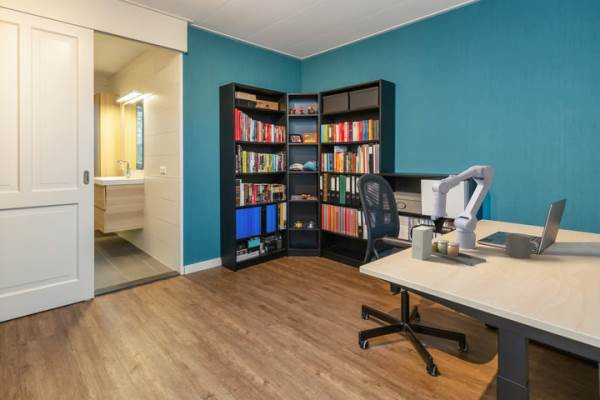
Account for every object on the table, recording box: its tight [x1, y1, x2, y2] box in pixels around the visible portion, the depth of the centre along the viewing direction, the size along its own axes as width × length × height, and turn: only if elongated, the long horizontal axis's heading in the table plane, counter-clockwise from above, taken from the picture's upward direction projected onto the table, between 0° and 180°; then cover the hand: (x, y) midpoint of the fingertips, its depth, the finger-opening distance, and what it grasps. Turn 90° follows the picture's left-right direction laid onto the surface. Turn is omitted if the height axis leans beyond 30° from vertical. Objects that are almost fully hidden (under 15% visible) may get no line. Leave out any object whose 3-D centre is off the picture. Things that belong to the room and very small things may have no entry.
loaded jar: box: [437, 239, 450, 254], centre depth 162 cm, size 5×5×6 cm
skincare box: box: [410, 225, 433, 261], centre depth 154 cm, size 8×6×15 cm
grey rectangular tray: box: [431, 251, 487, 267], centre depth 156 cm, size 12×26×4 cm, turn 29°
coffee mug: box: [504, 232, 540, 260], centre depth 157 cm, size 13×10×10 cm
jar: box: [447, 241, 460, 257], centre depth 158 cm, size 5×5×6 cm
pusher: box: [432, 241, 438, 252], centre depth 164 cm, size 8×1×5 cm, turn 119°
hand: (438, 232), depth 168 cm, fingers closed
